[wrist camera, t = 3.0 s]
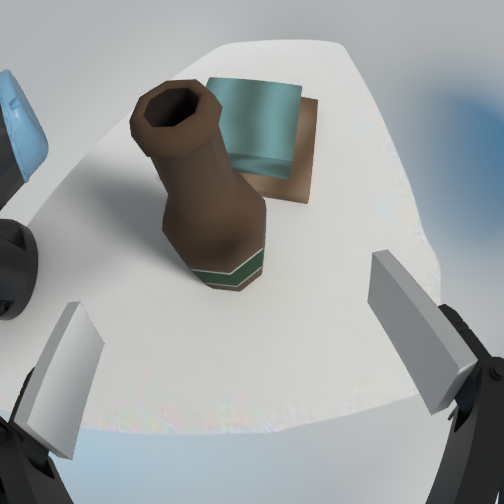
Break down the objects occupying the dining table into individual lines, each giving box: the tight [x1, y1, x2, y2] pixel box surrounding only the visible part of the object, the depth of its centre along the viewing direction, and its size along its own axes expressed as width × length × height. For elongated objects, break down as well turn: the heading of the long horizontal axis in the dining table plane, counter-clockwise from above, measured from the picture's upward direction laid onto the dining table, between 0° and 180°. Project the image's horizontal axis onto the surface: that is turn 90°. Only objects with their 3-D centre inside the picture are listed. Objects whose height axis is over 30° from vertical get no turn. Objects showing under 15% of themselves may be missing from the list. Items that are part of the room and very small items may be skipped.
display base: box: [206, 77, 318, 204], centre depth 34 cm, size 17×16×6 cm
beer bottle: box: [129, 79, 266, 292], centre depth 21 cm, size 8×8×24 cm
